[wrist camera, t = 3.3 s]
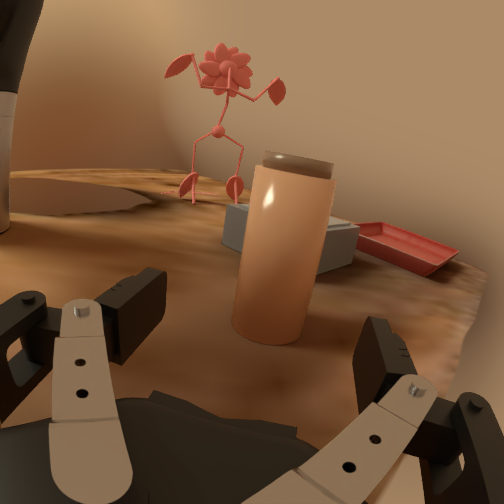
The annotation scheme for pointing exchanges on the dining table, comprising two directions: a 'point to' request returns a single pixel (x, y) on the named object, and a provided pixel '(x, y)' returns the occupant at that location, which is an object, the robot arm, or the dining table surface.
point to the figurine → (221, 80)
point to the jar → (282, 247)
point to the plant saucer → (403, 248)
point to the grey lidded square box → (334, 249)
